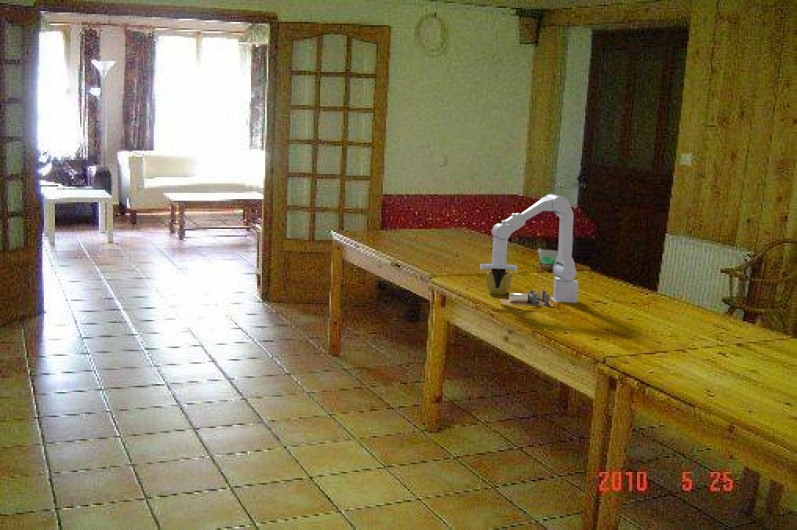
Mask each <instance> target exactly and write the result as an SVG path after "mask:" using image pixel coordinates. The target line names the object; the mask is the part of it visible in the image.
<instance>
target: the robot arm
mask: <svg viewBox="0 0 797 530" xmlns="http://www.w3.org/2000/svg"><path fill="white" fill-rule="evenodd" d="M542 212H553V213H554V214H555V215H557V216H558V218H559V224H558V225H559V228H558V246H557V247H558V248H557V249H558V250H557V251H558V256H557V258H556V259H555V264H554V266H553V271H552V273H553V275H554V285H553V296H551V297H550V298H551V300H552V301H553V302H555V303H556V302H557V303H574V304H575V303H578V299H579V298H578V295H579V282H578V280H577V279H576V280H575V278H576V276H577V268H576V266H575V261H574V258H573V257H572V253H573V234H574V233H573V232H574V231H573V230H574V215H575V214H574V211H573V209H572V207H571V204H570V201H569V200H568V199H567V198H566V197H565V196H562V195H557V194H555V193H548V194H546V195H545V196H543V197H541V198H540V199H539V200H538V201H537V202H535V203H533V205H531V206H529V207H528V208H527V209H525V210H524V211H522V212H521V213H520V212H516V213H514V212H513V213H511V215H510V216H509V217H508V218H506V219H503V220H501V223H496V224H494V225H493V227H492V229H491V235H492V236H493V239H492V241H493V242H492V251H491V253H492V254H491V263H480V264H479V269H480V270H491V271H492V274H493V277H494V281H495V288H499V287H500V283H501V281H502V278H503V277H504V275H505V273H506V272H507V271H515V272H518V266H517V265H516V264H507V258H508V243H509V238H510V237H511V236H512V233H514V232H516V231H517V230H520V228H522V227H524V226H525V225H526V221H528V220H529V219H532V218H533V217H535V216H537V215H539V214H540V213H542ZM491 271H490V272H491Z"/></svg>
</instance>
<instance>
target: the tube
mask: <svg viewBox="0 0 797 530" xmlns="http://www.w3.org/2000/svg"><path fill="white" fill-rule="evenodd" d="M508 299H509V302H519V303H532V294H529V293H517V292H516V293H515V292H510V293H508ZM540 299H541V294H537V300H536V303H540Z"/></svg>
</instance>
